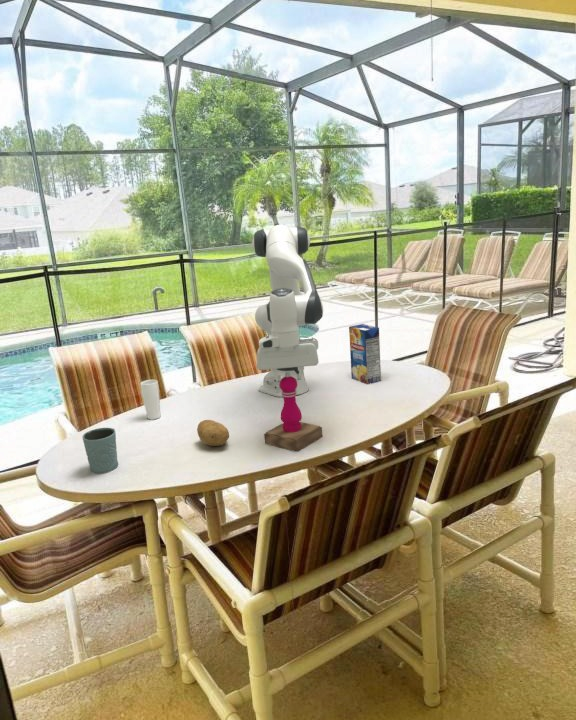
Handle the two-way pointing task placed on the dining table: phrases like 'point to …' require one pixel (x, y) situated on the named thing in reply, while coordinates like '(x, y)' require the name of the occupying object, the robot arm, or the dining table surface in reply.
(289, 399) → the pepper mill
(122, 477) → the dining table surface
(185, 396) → the dining table surface
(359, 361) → the juice carton
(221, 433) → the potato
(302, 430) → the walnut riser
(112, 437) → the green textured cup
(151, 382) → the drinking glass
